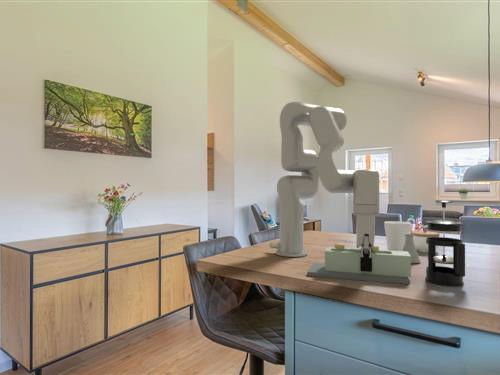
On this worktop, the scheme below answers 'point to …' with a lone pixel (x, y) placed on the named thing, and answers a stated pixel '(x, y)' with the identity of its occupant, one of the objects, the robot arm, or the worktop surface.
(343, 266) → the pale green slotted holder
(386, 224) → the foam cup
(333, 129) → the robot arm
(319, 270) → the board
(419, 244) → the lidded jar
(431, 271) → the french press
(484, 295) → the worktop surface
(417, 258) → the flask
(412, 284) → the worktop surface
